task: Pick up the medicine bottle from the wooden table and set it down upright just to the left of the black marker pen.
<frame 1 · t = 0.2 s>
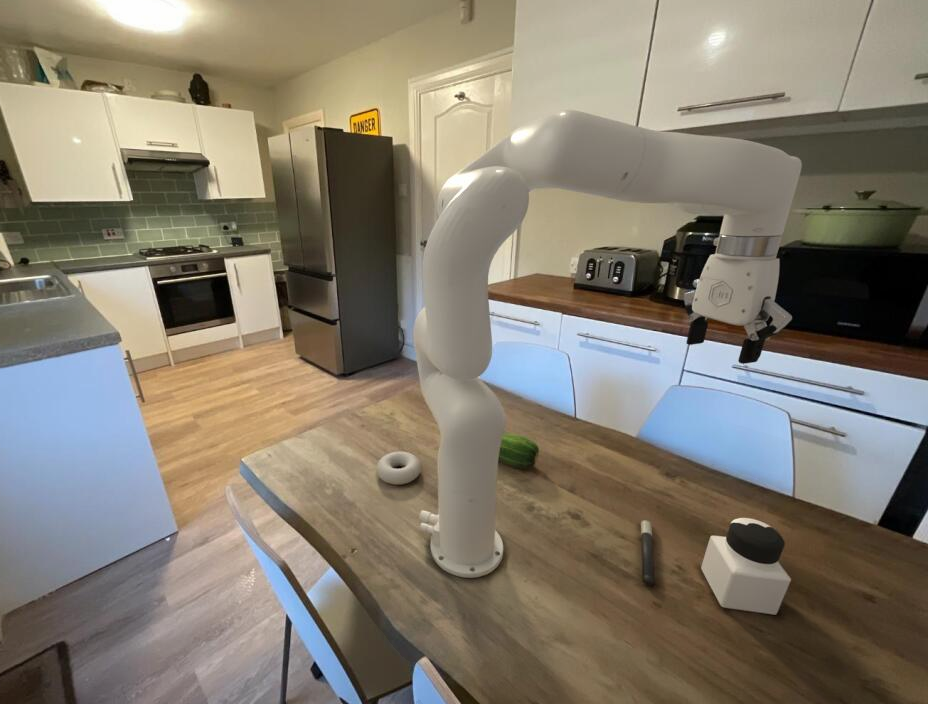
hand: (719, 352, 69), 31 cm above the table, tool pointing down, fingers open, 9 cm apart
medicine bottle: (735, 591, 62), on the table
donut: (399, 474, 92), on the table
marker: (646, 555, 68), on the table
vegetable: (495, 457, 96), on the table
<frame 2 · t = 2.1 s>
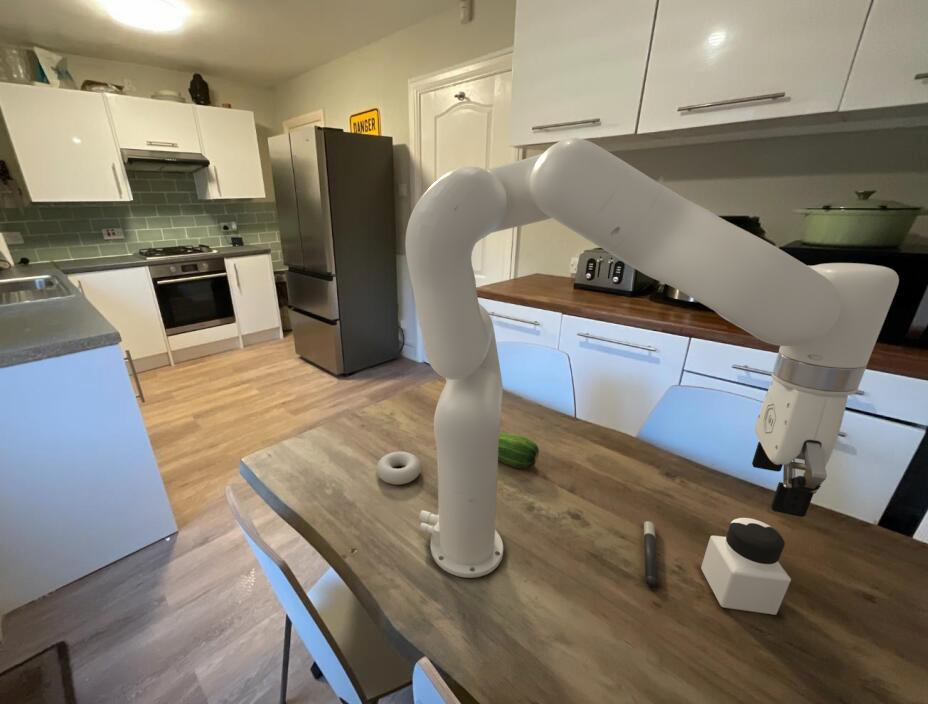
hand: (775, 488, 54), 19 cm above the table, tool pointing down, fingers open, 9 cm apart
marker: (646, 554, 68), on the table, tilted 35°
everything else where it was.
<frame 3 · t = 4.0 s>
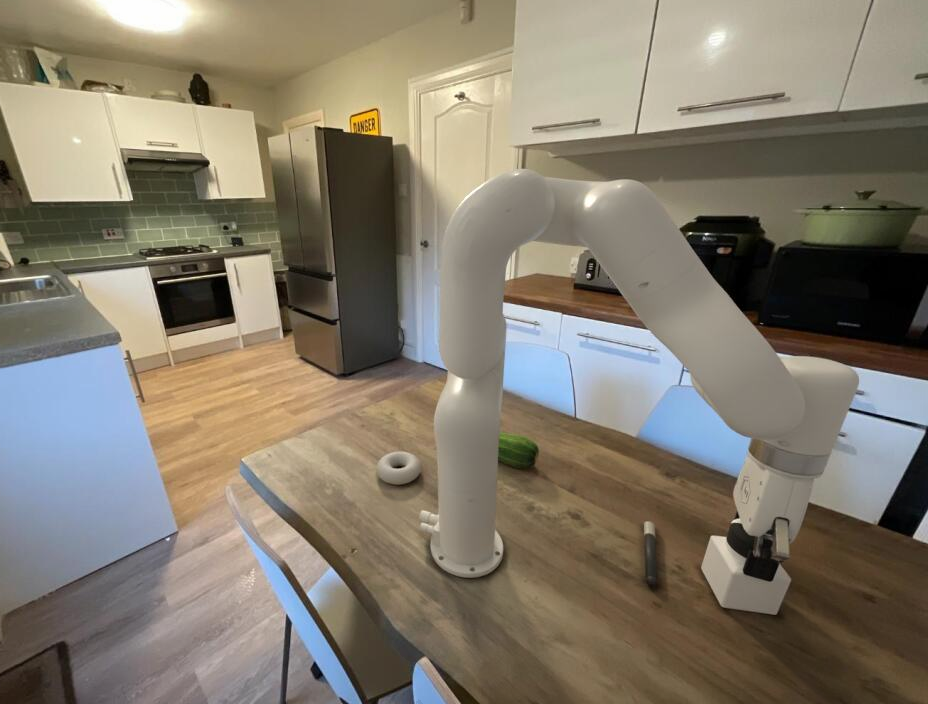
hand: (749, 554, 59), 7 cm above the table, tool pointing down, fingers closed on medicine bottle, 7 cm apart
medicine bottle: (735, 591, 62), on the table, touching gripper
everything else where it was.
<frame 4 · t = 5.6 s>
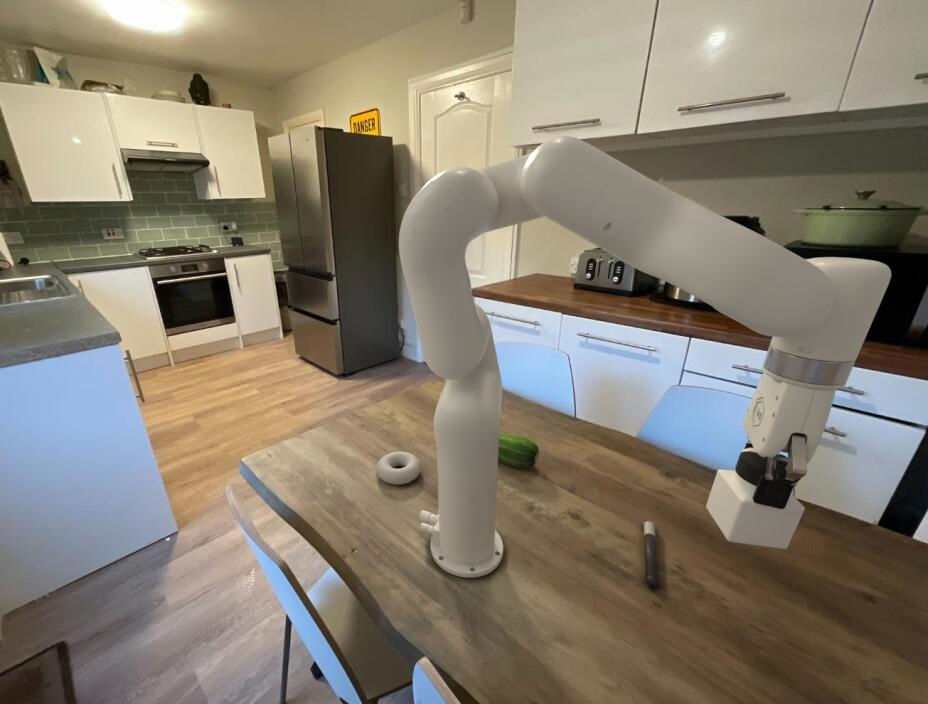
hand: (759, 485, 55), 19 cm above the table, tool pointing down, fingers closed on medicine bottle, 7 cm apart
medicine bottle: (743, 528, 58), point 12 cm above the table, touching gripper
everything else where it was.
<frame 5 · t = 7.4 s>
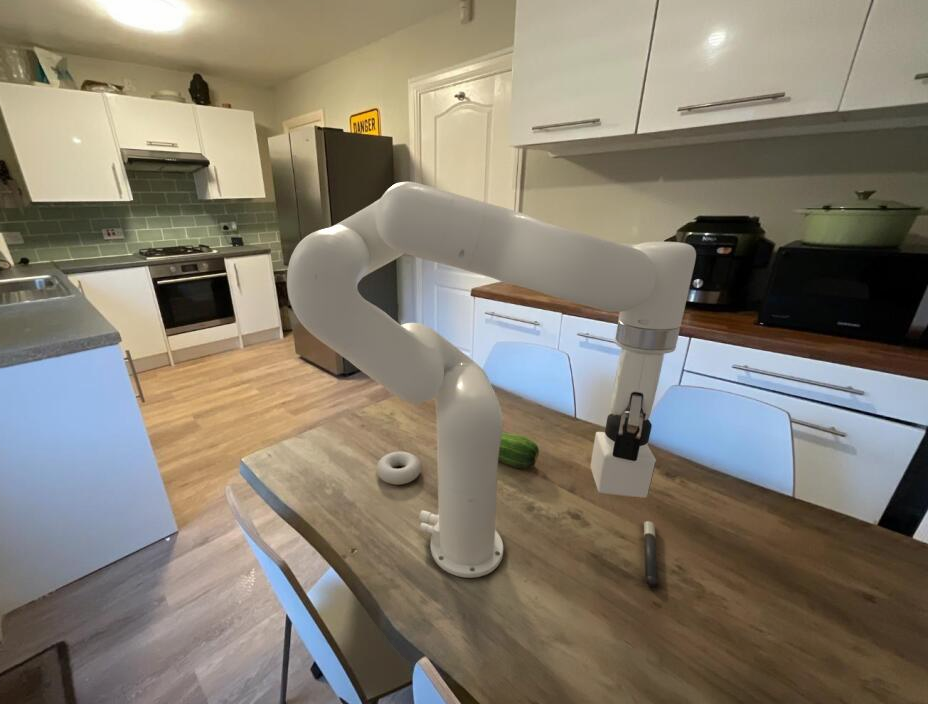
hand: (625, 443, 63), 21 cm above the table, tool pointing down, fingers closed on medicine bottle, 7 cm apart
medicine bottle: (616, 483, 66), point 13 cm above the table, touching gripper
everything else where it was.
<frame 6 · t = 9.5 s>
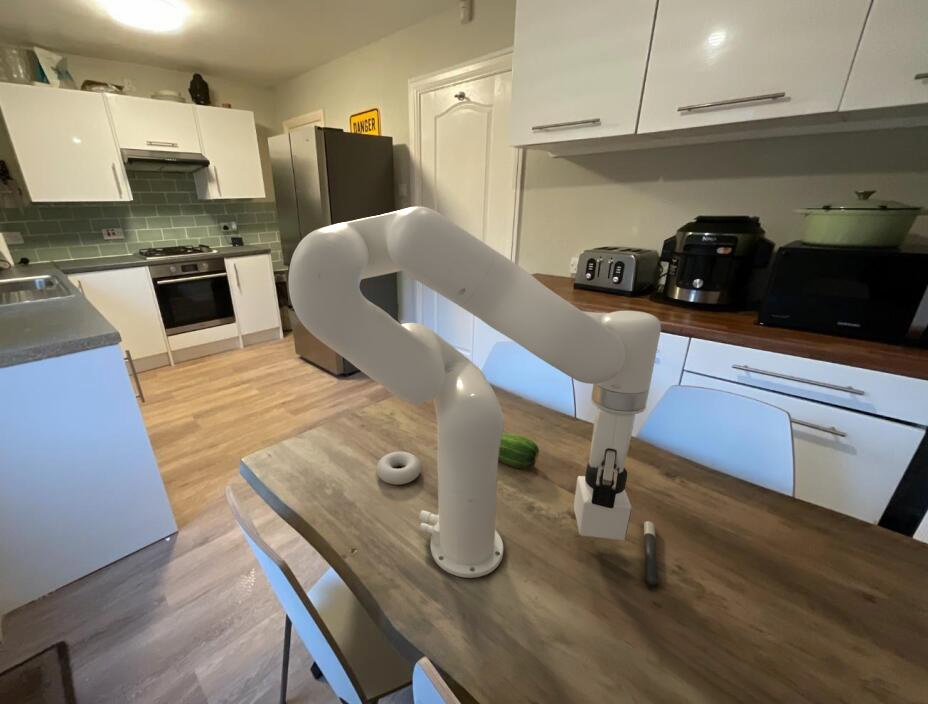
hand: (603, 489, 68), 11 cm above the table, tool pointing down, fingers closed on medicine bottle, 7 cm apart
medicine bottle: (597, 524, 70), point 4 cm above the table, touching gripper
everything else where it was.
when the fingers open (7 cm above the table, at t = 11.1 s): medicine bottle stays where it is, on the table.
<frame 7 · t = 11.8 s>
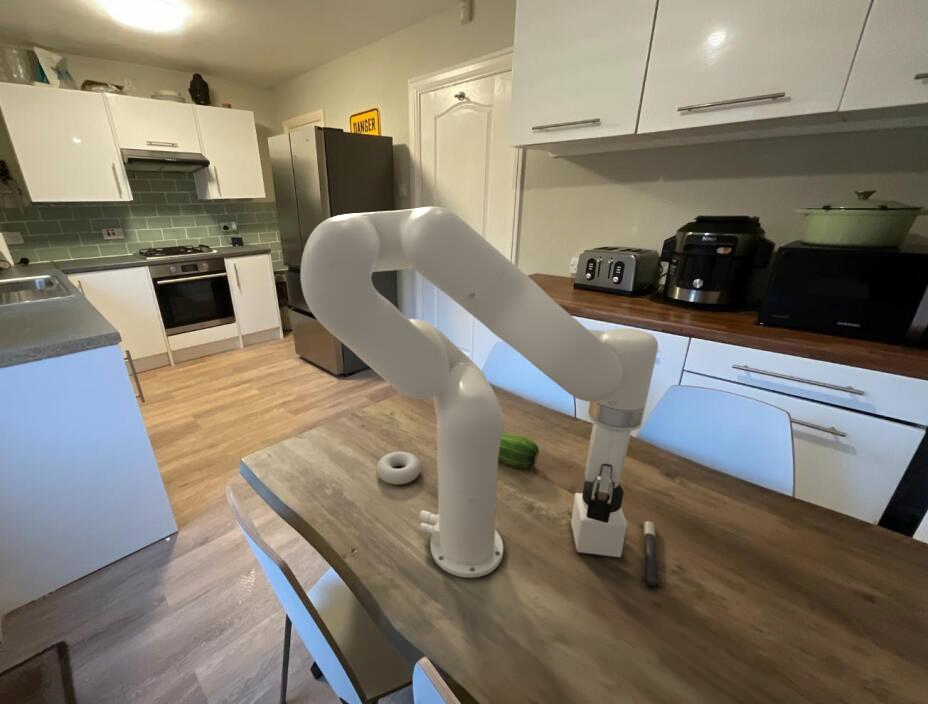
hand: (599, 500, 68), 9 cm above the table, tool pointing down, fingers open, 9 cm apart
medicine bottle: (594, 540, 72), on the table
everything else where it was.
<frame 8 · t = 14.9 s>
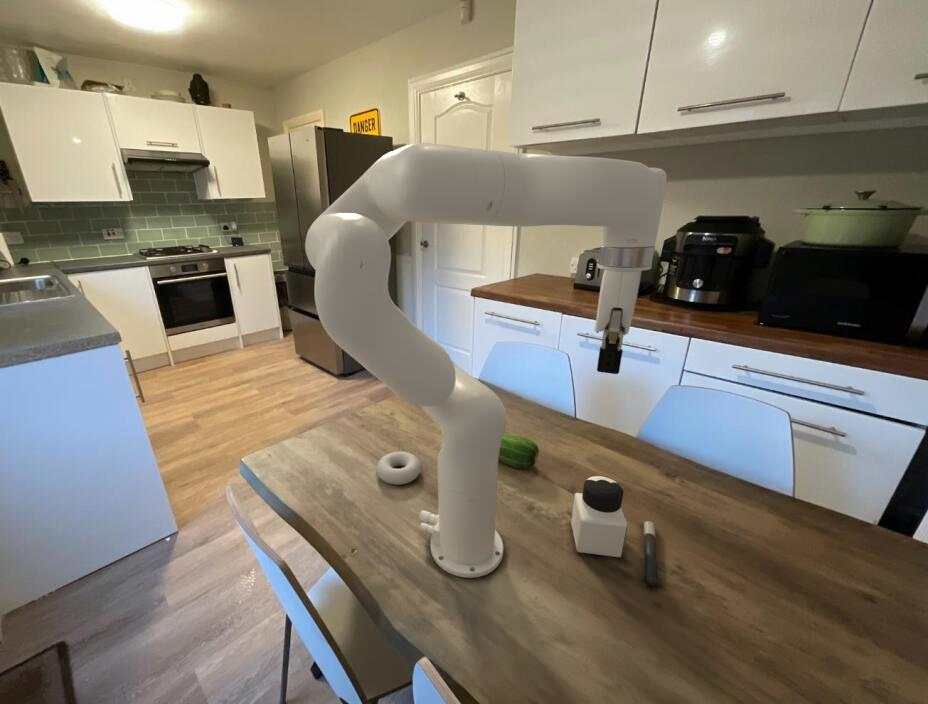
hand: (609, 361, 69), 30 cm above the table, tool pointing down, fingers open, 9 cm apart
nothing on the table moved.
at the end: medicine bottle inside the target area (0.3 cm from its centre), on the table; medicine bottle 8.0 cm from the marker (horizontally); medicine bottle tilted 0° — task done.
